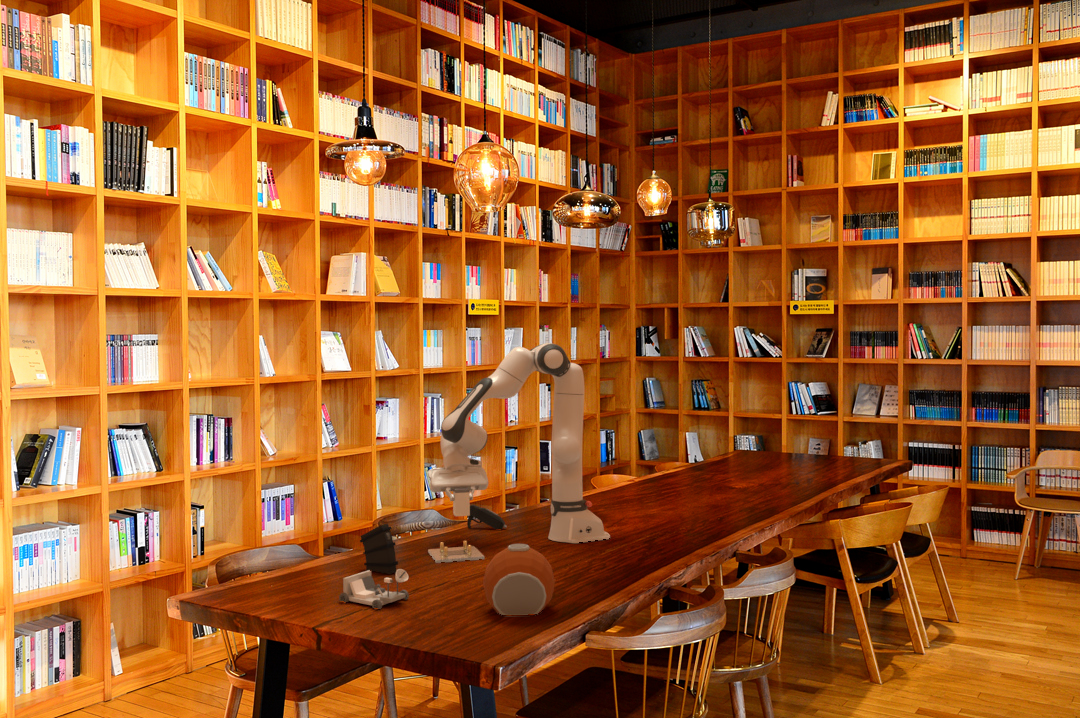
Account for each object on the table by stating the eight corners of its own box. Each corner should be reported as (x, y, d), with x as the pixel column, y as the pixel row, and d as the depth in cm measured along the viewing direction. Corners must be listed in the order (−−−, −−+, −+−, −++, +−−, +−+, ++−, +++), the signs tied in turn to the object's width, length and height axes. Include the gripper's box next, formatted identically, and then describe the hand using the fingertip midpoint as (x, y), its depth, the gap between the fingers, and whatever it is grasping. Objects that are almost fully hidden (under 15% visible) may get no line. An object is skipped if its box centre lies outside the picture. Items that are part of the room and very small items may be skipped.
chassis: (473, 548, 309) (473, 537, 309) (484, 559, 294) (484, 547, 294) (428, 552, 305) (427, 540, 305) (436, 563, 290) (436, 550, 289)
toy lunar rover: (415, 567, 247) (387, 576, 237) (416, 602, 247) (387, 613, 237) (367, 559, 256) (338, 568, 247) (368, 593, 256) (338, 603, 247)
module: (467, 513, 310) (467, 487, 309) (469, 515, 306) (469, 489, 306) (453, 514, 308) (453, 488, 308) (455, 516, 304) (455, 490, 304)
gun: (496, 544, 340) (508, 522, 339) (460, 524, 343) (471, 501, 342) (498, 543, 343) (510, 520, 342) (462, 522, 346) (473, 500, 345)
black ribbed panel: (396, 571, 273) (380, 524, 277) (369, 584, 280) (355, 538, 284) (404, 568, 276) (389, 522, 280) (378, 581, 283) (363, 536, 287)
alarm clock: (553, 600, 246) (553, 537, 246) (556, 619, 229) (556, 552, 229) (484, 601, 246) (483, 538, 246) (482, 621, 228) (481, 553, 228)
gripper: (428, 463, 310) (432, 495, 301) (485, 460, 316) (491, 492, 307) (426, 473, 315) (430, 506, 306) (483, 471, 320) (489, 503, 311)
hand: (461, 499), depth 306 cm, fingers closed on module, 5 cm apart
